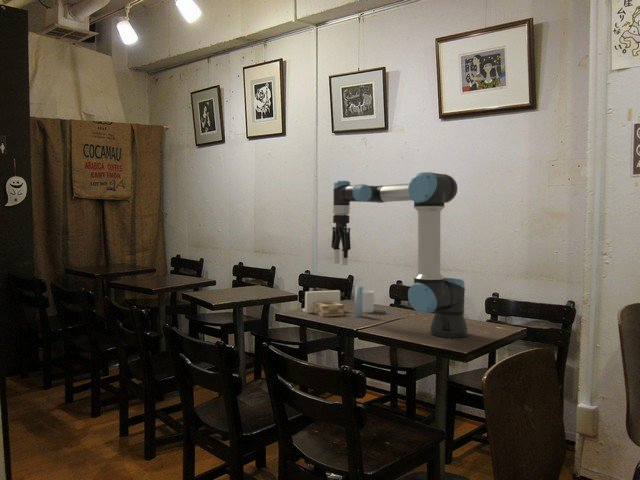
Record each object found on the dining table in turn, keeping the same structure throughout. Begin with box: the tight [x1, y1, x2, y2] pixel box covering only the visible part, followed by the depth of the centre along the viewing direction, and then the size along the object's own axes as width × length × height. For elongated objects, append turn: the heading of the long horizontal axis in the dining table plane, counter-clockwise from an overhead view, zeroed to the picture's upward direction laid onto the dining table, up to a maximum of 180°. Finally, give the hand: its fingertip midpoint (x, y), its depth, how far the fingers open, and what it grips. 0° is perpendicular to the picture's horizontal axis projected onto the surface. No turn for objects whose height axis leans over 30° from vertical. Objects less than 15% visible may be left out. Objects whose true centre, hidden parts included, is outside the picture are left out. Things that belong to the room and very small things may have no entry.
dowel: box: [354, 285, 364, 318], centre depth 251 cm, size 3×3×14 cm
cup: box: [362, 289, 375, 314], centre depth 266 cm, size 8×12×10 cm
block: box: [314, 301, 345, 318], centre depth 256 cm, size 11×11×5 cm
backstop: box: [302, 289, 341, 314], centre depth 263 cm, size 5×18×10 cm, turn 114°
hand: (340, 264), depth 244 cm, fingers open, 8 cm apart
